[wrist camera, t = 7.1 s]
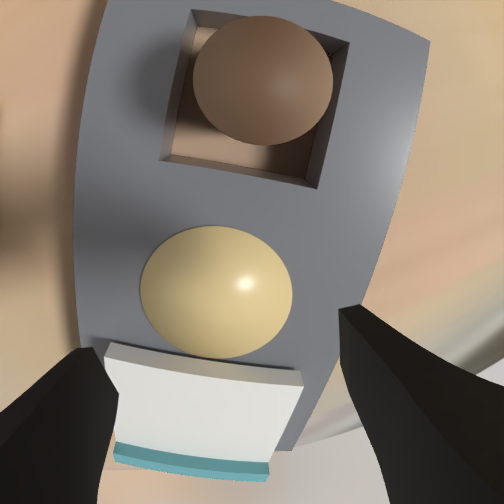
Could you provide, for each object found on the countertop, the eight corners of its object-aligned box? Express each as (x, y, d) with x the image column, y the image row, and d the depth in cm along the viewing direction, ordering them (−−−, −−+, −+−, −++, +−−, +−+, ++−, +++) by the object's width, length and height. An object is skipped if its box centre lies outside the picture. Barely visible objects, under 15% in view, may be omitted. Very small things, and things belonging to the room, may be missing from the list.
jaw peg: (203, 131, 14) (183, 136, 9) (216, 50, 13) (205, 8, 7) (288, 143, 15) (321, 156, 9) (301, 63, 13) (341, 31, 8)
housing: (104, 398, 21) (94, 424, 18) (132, -8, 11) (115, -27, 9) (287, 425, 22) (291, 452, 20) (405, 49, 13) (431, 40, 10)
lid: (121, 437, 18) (115, 461, 16) (110, 342, 15) (97, 370, 13) (262, 456, 20) (265, 481, 18) (300, 370, 16) (307, 400, 14)
